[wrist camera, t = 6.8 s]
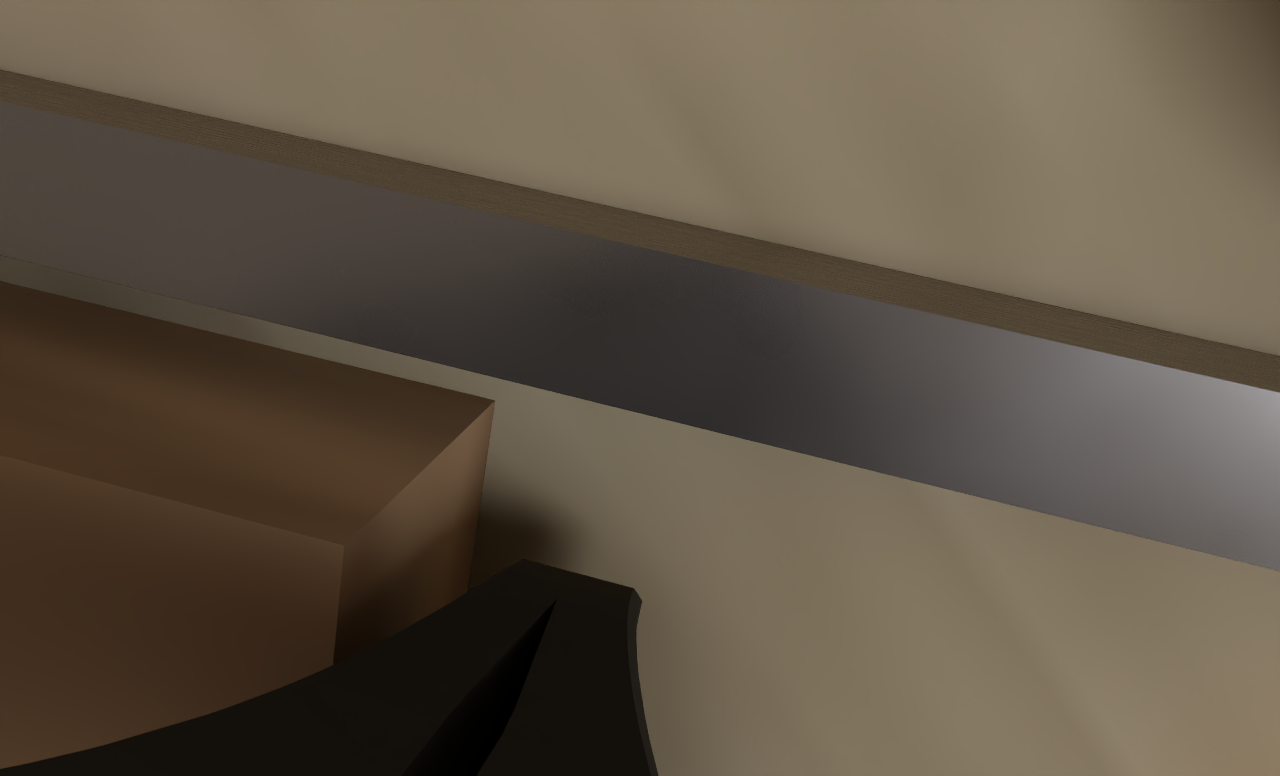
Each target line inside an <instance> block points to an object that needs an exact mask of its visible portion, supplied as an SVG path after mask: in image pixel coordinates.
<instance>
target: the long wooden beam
mask: <svg viewBox="0 0 1280 776" xmlns="http://www.w3.org/2000/svg"><path fill="white" fill-rule="evenodd" d="M494 405H495V400H490V399H486V398H482V397H478V396H474V395H470V394H466V393H461V392H457V391H453V390H449V389H445V388H441V387H437V386H432V385H428V384H424V383H420V382H416V381H412V380H408V379H403V378H399V377H395V376H391V375H387V374H383V373H379V372H374V371H370V370H366V369H362V368H358V367H354V366H350V365H345V364H341V363H337V362H333V361H329V360H325V359H321V358H316V357H312V356H308V355H304V354H300V353H296V352H291V351H287V350H283V349H279V348H275V347H271V346H267V345H262V344H258V343H254V342H250V341H246V340H242V339H238V338H233V337H229V336H225V335H221V334H217V333H213V332H209V331H204V330H200V329H196V328H192V327H188V326H184V325H180V324H175V323H171V322H167V321H163V320H159V319H155V318H151V317H146V316H142V315H138V314H134V313H130V312H126V311H122V310H117V309H113V308H109V307H105V306H101V305H97V304H93V303H88V302H84V301H80V300H76V299H72V298H68V297H64V296H59V295H55V294H51V293H47V292H43V291H39V290H35V289H30V288H26V287H22V286H18V285H14V284H10V283H5V282H1V281H0V769H2V768H7V767H12V766H17V765H22V764H27V763H31V762H36V761H40V760H44V759H48V758H52V757H57V756H61V755H65V754H69V753H74V752H78V751H82V750H86V749H90V748H94V747H98V746H102V745H106V744H109V743H113V742H116V741H119V740H123V739H126V738H129V737H133V736H136V735H140V734H143V733H146V732H150V731H153V730H156V729H160V728H163V727H167V726H170V725H173V724H177V723H180V722H183V721H187V720H190V719H193V718H197V717H200V716H204V715H207V714H210V713H213V712H216V711H219V710H222V709H225V708H228V707H230V706H233V705H236V704H238V703H241V702H244V701H246V700H249V699H252V698H254V697H257V696H260V695H262V694H265V693H268V692H270V691H273V690H276V689H278V688H281V687H283V686H286V685H288V684H291V683H293V682H295V681H298V680H300V679H303V678H305V677H307V676H310V675H312V674H314V673H316V672H319V671H321V670H323V669H325V668H328V667H330V666H332V665H334V664H336V663H338V662H340V661H342V660H344V659H346V658H348V657H350V656H352V655H354V654H356V653H358V652H360V651H362V650H364V649H366V648H368V647H370V646H372V645H374V644H376V643H378V642H380V641H382V640H384V639H386V638H388V637H390V636H392V635H394V634H396V633H398V632H399V631H401V630H403V629H405V628H407V627H408V626H410V625H412V624H414V623H415V622H417V621H419V620H421V619H422V618H424V617H426V616H428V615H430V614H431V613H433V612H435V611H437V610H438V609H440V608H442V607H444V606H445V605H447V604H449V603H450V602H452V601H454V600H455V599H457V598H459V597H460V596H462V595H464V594H465V593H467V590H468V584H469V577H470V570H471V563H472V556H473V549H474V542H475V536H476V529H477V522H478V515H479V508H480V501H481V494H482V487H483V481H484V474H485V467H486V460H487V453H488V446H489V439H490V433H491V426H492V419H493V412H494Z"/></svg>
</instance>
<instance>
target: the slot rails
mask: <svg viewBox="0 0 1280 776" xmlns="http://www.w3.org/2000/svg"><path fill="white" fill-rule="evenodd" d="M0 255H2V256H6V257H10V258H14V259H18V260H22V261H26V262H30V263H34V264H38V265H43V266H47V267H51V268H55V269H59V270H63V271H67V272H71V273H75V274H79V275H83V276H87V277H91V278H95V279H99V280H103V281H107V282H111V283H115V284H119V285H123V286H127V287H132V288H136V289H140V290H144V291H148V292H152V293H156V294H160V295H164V296H168V297H172V298H176V299H180V300H184V301H188V302H192V303H196V304H200V305H204V306H208V307H212V308H216V309H221V310H225V311H229V312H233V313H237V314H241V315H245V316H249V317H253V318H257V319H261V320H265V321H269V322H273V323H277V324H281V325H285V326H289V327H293V328H297V329H301V330H305V331H310V332H314V333H318V334H322V335H326V336H330V337H334V338H338V339H342V340H346V341H350V342H354V343H358V344H362V345H366V346H370V347H374V348H378V349H382V350H386V351H390V352H394V353H399V354H403V355H407V356H411V357H415V358H419V359H423V360H427V361H431V362H435V363H439V364H443V365H447V366H451V367H455V368H459V369H463V370H467V371H471V372H475V373H479V374H483V375H488V376H492V377H496V378H500V379H504V380H508V381H512V382H516V383H520V384H524V385H528V386H532V387H536V388H540V389H544V390H548V391H552V392H556V393H560V394H564V395H568V396H572V397H577V398H581V399H585V400H589V401H593V402H597V403H601V404H605V405H609V406H613V407H617V408H621V409H625V410H629V411H633V412H637V413H641V414H645V415H649V416H653V417H657V418H661V419H666V420H670V421H674V422H678V423H682V424H686V425H690V426H694V427H698V428H702V429H706V430H710V431H714V432H718V433H722V434H726V435H730V436H734V437H738V438H742V439H746V440H750V441H755V442H759V443H763V444H767V445H771V446H775V447H779V448H783V449H787V450H791V451H795V452H799V453H803V454H807V455H811V456H815V457H819V458H823V459H827V460H831V461H835V462H839V463H844V464H848V465H852V466H856V467H860V468H864V469H868V470H872V471H876V472H880V473H884V474H888V475H892V476H896V477H900V478H904V479H908V480H912V481H916V482H920V483H924V484H928V485H933V486H937V487H941V488H945V489H949V490H953V491H957V492H961V493H965V494H969V495H973V496H977V497H981V498H985V499H989V500H993V501H997V502H1001V503H1005V504H1009V505H1013V506H1017V507H1022V508H1026V509H1030V510H1034V511H1038V512H1042V513H1046V514H1050V515H1054V516H1058V517H1062V518H1066V519H1070V520H1074V521H1078V522H1082V523H1086V524H1090V525H1094V526H1098V527H1102V528H1106V529H1111V530H1115V531H1119V532H1123V533H1127V534H1131V535H1135V536H1139V537H1143V538H1147V539H1151V540H1155V541H1159V542H1163V543H1167V544H1171V545H1175V546H1179V547H1183V548H1187V549H1191V550H1195V551H1200V552H1204V553H1208V554H1212V555H1216V556H1220V557H1224V558H1228V559H1232V560H1236V561H1240V562H1244V563H1248V564H1252V565H1256V566H1260V567H1264V568H1268V569H1272V570H1276V571H1280V357H1279V356H1274V355H1270V354H1266V353H1261V352H1257V351H1252V350H1248V349H1243V348H1239V347H1234V346H1230V345H1225V344H1221V343H1216V342H1212V341H1208V340H1203V339H1199V338H1194V337H1190V336H1185V335H1181V334H1176V333H1172V332H1167V331H1163V330H1158V329H1154V328H1150V327H1145V326H1141V325H1136V324H1132V323H1127V322H1123V321H1118V320H1114V319H1109V318H1105V317H1100V316H1096V315H1092V314H1087V313H1083V312H1078V311H1074V310H1069V309H1065V308H1060V307H1056V306H1051V305H1047V304H1042V303H1038V302H1034V301H1029V300H1025V299H1020V298H1016V297H1011V296H1007V295H1002V294H998V293H993V292H989V291H984V290H980V289H975V288H971V287H967V286H962V285H958V284H953V283H949V282H944V281H940V280H935V279H931V278H926V277H922V276H917V275H913V274H909V273H904V272H900V271H895V270H891V269H886V268H882V267H877V266H873V265H868V264H864V263H859V262H855V261H851V260H846V259H842V258H837V257H833V256H828V255H824V254H819V253H815V252H810V251H806V250H801V249H797V248H793V247H788V246H784V245H779V244H775V243H770V242H766V241H761V240H757V239H752V238H748V237H743V236H739V235H735V234H730V233H726V232H721V231H717V230H712V229H708V228H703V227H699V226H694V225H690V224H685V223H681V222H677V221H672V220H668V219H663V218H659V217H654V216H650V215H645V214H641V213H636V212H632V211H627V210H623V209H619V208H614V207H610V206H605V205H601V204H596V203H592V202H587V201H583V200H578V199H574V198H569V197H565V196H561V195H556V194H552V193H547V192H543V191H538V190H534V189H529V188H525V187H520V186H516V185H511V184H507V183H503V182H498V181H494V180H489V179H485V178H480V177H476V176H471V175H467V174H462V173H458V172H453V171H449V170H445V169H440V168H436V167H431V166H427V165H422V164H418V163H413V162H409V161H404V160H400V159H395V158H391V157H387V156H382V155H378V154H373V153H369V152H364V151H360V150H355V149H351V148H346V147H342V146H337V145H333V144H329V143H324V142H320V141H315V140H311V139H306V138H302V137H297V136H293V135H288V134H284V133H279V132H275V131H271V130H266V129H262V128H257V127H253V126H248V125H244V124H239V123H235V122H230V121H226V120H221V119H217V118H213V117H208V116H204V115H199V114H195V113H190V112H186V111H181V110H177V109H172V108H168V107H163V106H159V105H155V104H150V103H146V102H141V101H137V100H132V99H128V98H123V97H119V96H114V95H110V94H105V93H101V92H97V91H92V90H88V89H83V88H79V87H74V86H70V85H65V84H61V83H56V82H52V81H47V80H43V79H39V78H34V77H30V76H25V75H21V74H16V73H12V72H7V71H3V70H0Z"/></svg>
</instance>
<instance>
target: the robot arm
mask: <svg viewBox="0 0 1280 776" xmlns="http://www.w3.org/2000/svg"><path fill="white" fill-rule="evenodd" d="M641 604H642V600H641V599H640V597H639V595H638V594H637V592H636V591H635V589H634V588H630V587H627V586H623V585H619V584H615V583H611V582H608V581H604V580H600V579H596V578H593V577H589V576H585V575H581V574H578V573H574V572H570V571H566V570H563V569H559V568H555V567H551V566H547V565H544V564H540V563H536V562H532V561H529V560H525V559H522V560H521V561H519V562H517V563H515V564H514V565H512V566H510V567H508V568H507V569H505V570H503V571H501V572H500V573H498V574H496V575H495V576H493V577H491V578H490V579H488V580H486V581H485V582H483V583H482V584H480V585H478V586H477V587H475V588H473V589H472V590H470V591H468V592H467V593H465V594H464V595H462V596H460V597H459V598H457V599H455V600H454V601H452V602H450V603H449V604H447V605H445V606H444V607H442V608H440V609H438V610H437V611H435V612H433V613H431V614H430V615H428V616H426V617H424V618H422V619H421V620H419V621H417V622H415V623H414V624H412V625H410V626H408V627H407V628H405V629H403V630H401V631H399V632H398V633H396V634H394V635H392V636H390V637H388V638H386V639H384V640H382V641H380V642H378V643H376V644H374V645H372V646H370V647H368V648H366V649H364V650H362V651H360V652H358V653H356V654H354V655H352V656H350V657H348V658H346V659H344V660H342V661H340V662H338V663H336V664H334V665H332V666H330V667H328V668H325V669H323V670H321V671H319V672H316V673H314V674H312V675H310V676H307V677H305V678H303V679H300V680H298V681H295V682H293V683H291V684H288V685H286V686H283V687H281V688H278V689H276V690H273V691H270V692H268V693H265V694H262V695H260V696H257V697H254V698H252V699H249V700H246V701H244V702H241V703H238V704H236V705H233V706H230V707H228V708H225V709H222V710H219V711H216V712H213V713H210V714H207V715H204V716H200V717H197V718H193V719H190V720H187V721H183V722H180V723H177V724H173V725H170V726H167V727H163V728H160V729H156V730H153V731H150V732H146V733H143V734H140V735H136V736H133V737H129V738H126V739H123V740H119V741H116V742H113V743H109V744H106V745H102V746H98V747H94V748H90V749H86V750H82V751H78V752H74V753H69V754H65V755H61V756H57V757H52V758H48V759H44V760H40V761H36V762H31V763H27V764H22V765H17V766H12V767H7V768H2V769H0V776H658V772H657V768H656V764H655V760H654V756H653V752H652V748H651V744H650V740H649V735H648V730H647V725H646V720H645V714H644V708H643V701H642V695H641V688H640V682H639V674H638V664H637V644H636V629H637V622H638V618H639V613H640V609H641Z"/></svg>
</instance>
